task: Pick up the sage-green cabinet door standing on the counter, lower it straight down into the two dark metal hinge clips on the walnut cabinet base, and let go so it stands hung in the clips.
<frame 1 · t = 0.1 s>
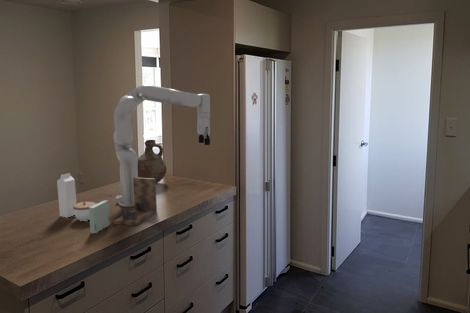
hand: (204, 143, 241), 31 cm above the worktop, tool pointing down, fingers open, 9 cm apart
door: (100, 228, 188), on the worktop
jug: (150, 184, 273), on the worktop
lidded jar: (85, 220, 201), on the worktop
milk: (68, 216, 207), on the worktop
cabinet: (136, 217, 204), on the worktop
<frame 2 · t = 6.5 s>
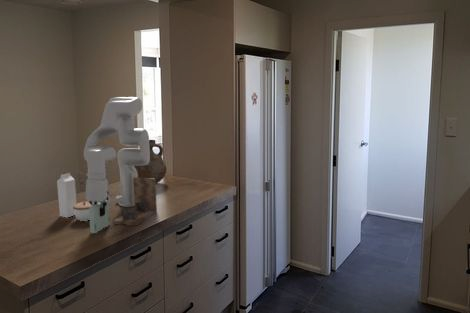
hand: (99, 214, 187), 7 cm above the worktop, tool pointing down, fingers closed on door, 2 cm apart
door: (100, 228, 188), on the worktop, touching gripper
everything else where it was.
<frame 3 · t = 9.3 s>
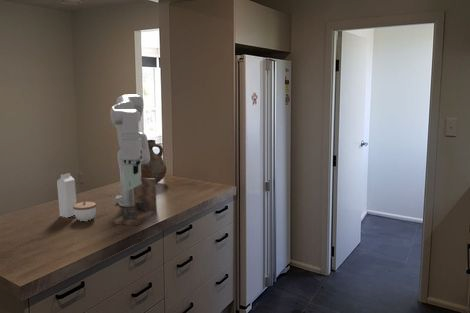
hand: (133, 173, 200), 23 cm above the worktop, tool pointing down, fingers closed on door
door: (133, 186, 201), point 16 cm above the worktop, touching gripper
everything else where it was.
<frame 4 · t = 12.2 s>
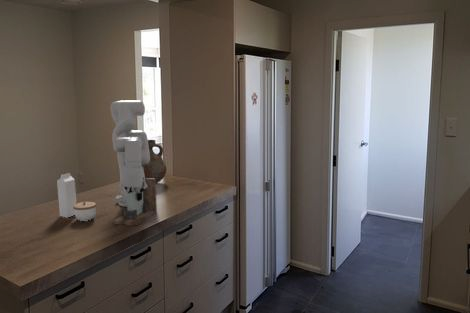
hand: (135, 199, 202), 9 cm above the worktop, tool pointing down, fingers open, 4 cm apart
door: (136, 214, 204), point 1 cm above the worktop, touching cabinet
everything else where it was.
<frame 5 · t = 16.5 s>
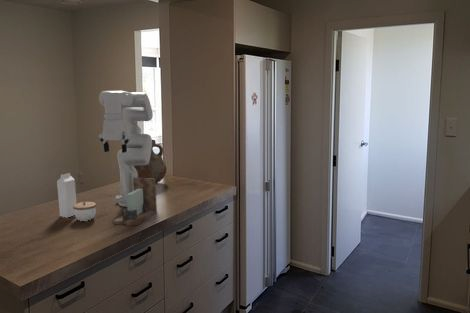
hand: (115, 151, 200), 33 cm above the worktop, tool pointing down, fingers open, 9 cm apart
nothing on the worktop moved.
at the end: door 0.1 cm off-centre on the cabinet, point 1.5 cm above the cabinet's base; door tilted 0°; the gripper is holding nothing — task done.
